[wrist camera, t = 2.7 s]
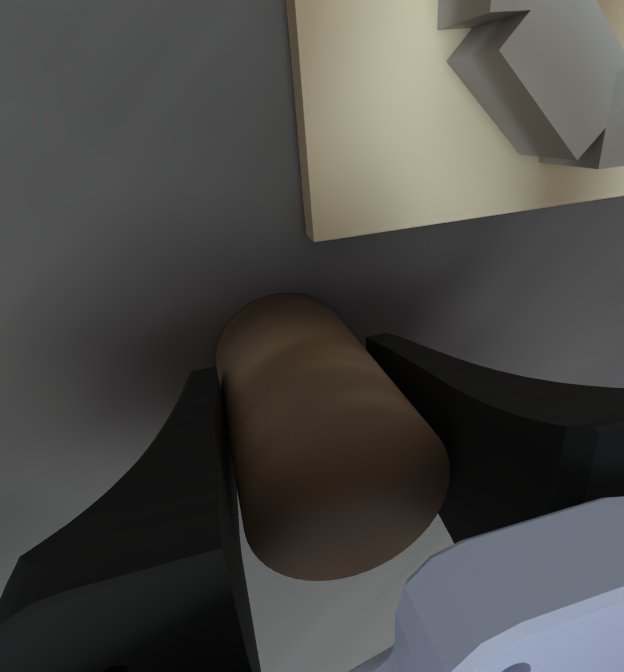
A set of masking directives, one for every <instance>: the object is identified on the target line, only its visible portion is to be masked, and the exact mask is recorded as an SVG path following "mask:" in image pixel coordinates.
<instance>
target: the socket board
mask: <svg viewBox="0 0 624 672" xmlns="http://www.w3.org/2000/svg"><path fill="white" fill-rule="evenodd" d="M286 7H287V19H288V31H289V42H290V54H291V65H292V77H293V89H294V100H295V112H296V123H297V135H298V146H299V158H300V170H301V181H302V193H303V204H304V216H305V228H306V236H307V237H309V238H310V239H311V240H312V241H313V242H319V241H326V240H333V239H339V238H346V237H352V236H359V235H366V234H372V233H379V232H386V231H392V230H399V229H406V228H412V227H419V226H426V225H432V224H439V223H446V222H452V221H459V220H466V219H472V218H479V217H485V216H492V215H499V214H505V213H512V212H519V211H525V210H532V209H539V208H545V207H552V206H559V205H565V204H572V203H579V202H585V201H592V200H599V199H605V198H612V197H618V196H624V0H286Z"/></svg>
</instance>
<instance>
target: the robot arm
mask: <svg viewBox="0 0 624 672" xmlns="http://www.w3.org/2000/svg"><path fill="white" fill-rule="evenodd" d="M366 350H367V351H368V353H369V354H370V355H371V356H372V357H373V359H374V360H375V361H376V362H377V363H378V365H379V366H380V367H381V368H382V369H383V371H384V372H385V373H386V374H387V375H388V377H389V378H390V379H391V380H392V381H393V383H394V384H395V385H396V386H397V387H398V389H399V390H400V391H401V392H402V393H403V395H404V396H405V397H406V398H407V399H408V401H409V402H410V403H411V404H412V405H413V407H414V408H415V409H416V410H417V411H418V413H419V414H420V415H421V416H422V417H423V419H424V420H425V421H426V422H427V423H428V425H429V426H430V427H431V428H432V429H433V431H434V432H435V433H436V434H437V435H438V437H439V438H440V440H441V441H442V443H443V445H444V446H445V449H446V452H447V454H448V458H449V464H450V479H449V486H448V490H447V493H446V497H445V499H444V501H443V504H442V506H441V508H440V510H439V512H438V514H439V516H440V518H441V519H442V521H443V523H444V525H445V527H446V529H447V530H448V532H449V534H450V536H451V538H452V540H453V542H454V545H452V546H450V547H448V548H446V549H444V550H442V551H440V552H438V553H436V554H434V555H432V556H430V557H429V558H428V559H427V560H426V561H425V562H424V563H423V564H422V565H421V566H420V567H419V568H418V569H417V570H416V571H415V572H414V574H413V575H412V576H411V577H410V578H409V579H408V580H407V581H406V584H405V586H404V589H403V592H402V594H401V597H400V600H399V603H398V606H397V609H396V612H395V642H394V646H392V647H390V648H388V649H387V650H385V651H383V652H381V653H380V654H378V655H376V656H374V657H373V658H371V659H369V660H368V661H366V662H364V663H362V664H361V665H359V666H357V667H355V668H354V669H352V670H350V671H349V672H624V388H609V387H597V386H585V385H576V384H567V383H559V382H553V381H546V380H540V379H534V378H529V377H523V376H518V375H514V374H510V373H506V372H502V371H497V370H493V369H490V368H486V367H482V366H479V365H476V364H473V363H470V362H466V361H463V360H460V359H457V358H454V357H452V356H449V355H446V354H443V353H441V352H438V351H435V350H433V349H430V348H427V347H425V346H422V345H420V344H417V343H415V342H412V341H409V340H407V339H404V338H401V337H398V336H395V335H392V334H388V333H385V334H379V335H374V336H369V337H366ZM0 672H261V669H260V663H259V657H258V651H257V645H256V640H255V634H254V628H253V622H252V615H251V609H250V603H249V597H248V591H247V585H246V579H245V573H244V567H243V561H242V555H241V545H240V534H239V518H238V502H237V486H236V480H235V474H234V468H233V462H232V456H231V451H230V445H229V439H228V433H227V426H226V419H225V410H224V405H223V399H222V393H221V388H220V383H219V378H218V372H217V367H212V368H207V369H202V370H197V371H192V372H191V374H190V375H189V377H188V380H187V382H186V385H185V387H184V389H183V391H182V393H181V395H180V398H179V400H178V401H177V403H176V405H175V407H174V409H173V411H172V412H171V414H170V416H169V418H168V419H167V421H166V423H165V424H164V426H163V427H162V429H161V430H160V432H159V433H158V435H157V436H156V438H155V439H154V441H153V442H152V443H151V445H150V446H149V447H148V449H147V450H146V451H145V453H144V454H143V455H142V456H141V458H140V459H139V460H138V461H137V462H136V463H135V464H134V466H133V467H132V468H131V469H130V470H129V471H128V472H127V473H126V474H125V475H124V476H123V477H122V478H121V479H120V480H119V481H118V482H117V483H116V484H115V485H114V486H113V487H112V488H111V489H109V490H108V491H107V492H106V493H105V494H104V495H103V496H102V497H100V498H99V499H98V500H97V501H96V502H95V503H94V504H92V505H91V506H90V507H89V508H87V509H86V510H85V511H84V512H82V513H81V514H80V515H79V516H77V517H76V518H75V519H74V520H72V521H71V522H70V523H68V524H67V525H66V526H64V527H63V528H61V529H60V530H58V531H57V532H56V533H54V534H53V535H51V536H50V537H48V538H47V539H45V540H44V541H43V542H41V543H40V544H38V545H37V546H35V547H34V548H32V549H31V550H29V551H28V552H26V553H25V554H23V555H22V556H20V557H19V559H18V562H17V564H16V566H15V568H14V570H13V572H12V574H11V576H10V578H9V580H8V582H7V584H6V587H5V589H4V591H3V594H2V596H1V599H0Z"/></svg>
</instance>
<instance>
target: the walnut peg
mask: <svg viewBox="0 0 624 672" xmlns="http://www.w3.org/2000/svg"><path fill="white" fill-rule="evenodd" d="M216 367H217V372H218V378H219V383H220V388H221V393H222V399H223V405H224V410H225V419H226V426H227V433H228V439H229V445H230V451H231V456H232V462H233V468H234V474H235V480H236V486H237V492H238V497H239V503H240V509H241V515H242V521H243V527H244V532H245V535H246V539H247V542H248V544H249V546H250V548H251V550H252V551H253V553H254V554H255V555H256V556H257V558H258V559H259V560H260V561H261V562H263V563H264V564H265V565H266V566H267V567H269V568H271V569H272V570H274V571H275V572H278V573H280V574H282V575H285V576H288V577H292V578H295V579H301V580H309V581H325V580H335V579H341V578H346V577H350V576H354V575H357V574H360V573H363V572H366V571H369V570H371V569H373V568H375V567H377V566H380V565H381V564H383V563H385V562H387V561H389V560H391V559H392V558H394V557H395V556H397V555H398V554H400V553H401V552H402V551H404V550H405V549H406V548H407V547H409V546H410V545H411V544H412V543H413V542H414V541H416V540H417V539H418V538H419V537H420V536H421V535H422V533H423V532H424V531H425V530H426V529H427V528H428V527H429V525H430V524H431V522H432V521H433V520H434V518H435V517H436V515H437V513H438V512H439V510H440V508H441V506H442V504H443V501H444V499H445V497H446V493H447V490H448V486H449V479H450V464H449V458H448V454H447V452H446V449H445V446H444V445H443V443H442V441H441V440H440V438H439V437H438V435H437V434H436V433H435V432H434V431H433V429H432V428H431V427H430V426H429V425H428V423H427V422H426V421H425V420H424V419H423V417H422V416H421V415H420V414H419V413H418V411H417V410H416V409H415V408H414V407H413V405H412V404H411V403H410V402H409V401H408V399H407V398H406V397H405V396H404V395H403V393H402V392H401V391H400V390H399V389H398V387H397V386H396V385H395V384H394V383H393V381H392V380H391V379H390V378H389V377H388V375H387V374H386V373H385V372H384V371H383V369H382V368H381V367H380V366H379V365H378V363H377V362H376V361H375V360H374V359H373V357H372V356H371V355H370V354H369V353H368V351H367V350H366V349H365V348H364V347H363V345H362V344H361V343H360V342H359V341H358V339H357V338H356V337H355V336H354V335H353V333H352V332H351V331H350V330H349V329H348V327H347V326H346V325H345V324H344V323H343V321H342V320H341V319H340V318H339V317H338V315H337V314H336V313H335V312H334V311H333V310H332V309H331V308H330V307H329V306H328V305H326V304H325V303H323V302H322V301H320V300H318V299H316V298H313V297H311V296H307V295H304V294H297V293H281V294H274V295H270V296H266V297H264V298H261V299H258V300H256V301H255V302H253V303H251V304H249V305H248V306H246V307H245V308H243V309H242V310H241V311H240V312H238V313H237V314H236V315H235V316H234V317H233V318H232V320H231V321H230V322H229V323H228V325H227V326H226V328H225V329H224V331H223V333H222V335H221V337H220V340H219V343H218V346H217V352H216Z"/></svg>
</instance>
